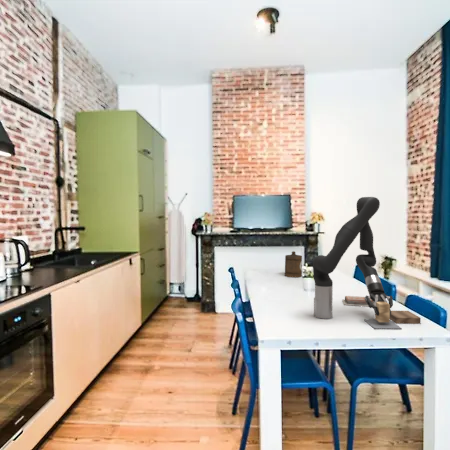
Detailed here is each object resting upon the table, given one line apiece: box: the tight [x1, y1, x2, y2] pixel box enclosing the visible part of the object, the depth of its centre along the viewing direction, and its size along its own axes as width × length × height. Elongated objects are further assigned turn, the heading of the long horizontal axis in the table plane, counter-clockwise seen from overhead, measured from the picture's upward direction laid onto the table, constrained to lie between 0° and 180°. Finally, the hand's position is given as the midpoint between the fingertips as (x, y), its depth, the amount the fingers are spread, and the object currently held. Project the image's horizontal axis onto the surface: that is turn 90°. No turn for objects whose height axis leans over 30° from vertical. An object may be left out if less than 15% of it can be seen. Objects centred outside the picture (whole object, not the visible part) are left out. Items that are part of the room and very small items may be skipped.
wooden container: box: [284, 250, 303, 278], centre depth 293 cm, size 15×15×22 cm
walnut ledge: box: [390, 310, 421, 325], centre depth 174 cm, size 12×12×3 cm
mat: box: [364, 318, 402, 330], centre depth 166 cm, size 13×13×1 cm
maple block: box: [374, 301, 391, 322], centre depth 166 cm, size 5×5×9 cm
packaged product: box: [342, 295, 373, 308], centre depth 203 cm, size 18×5×10 cm
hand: (383, 314), depth 164 cm, fingers closed on maple block, 5 cm apart
